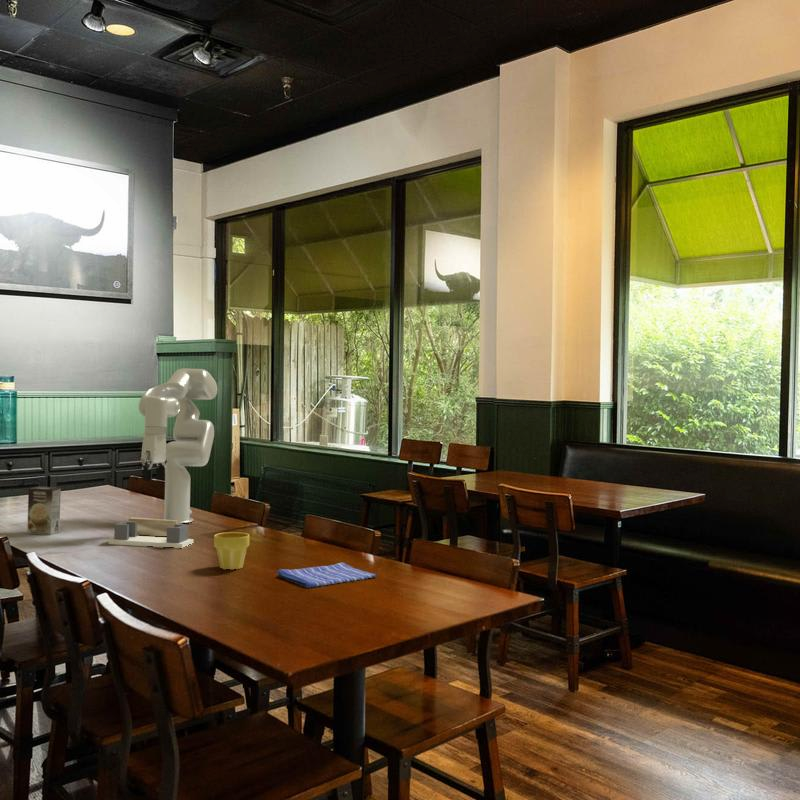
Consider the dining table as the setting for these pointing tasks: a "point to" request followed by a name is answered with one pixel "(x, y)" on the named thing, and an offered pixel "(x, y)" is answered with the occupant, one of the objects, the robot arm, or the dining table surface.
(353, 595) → the dining table surface
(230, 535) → the plant pot
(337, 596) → the dining table surface
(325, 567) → the dish towel
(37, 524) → the coffee box
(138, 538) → the end cap board
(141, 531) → the slat
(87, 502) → the dining table surface
